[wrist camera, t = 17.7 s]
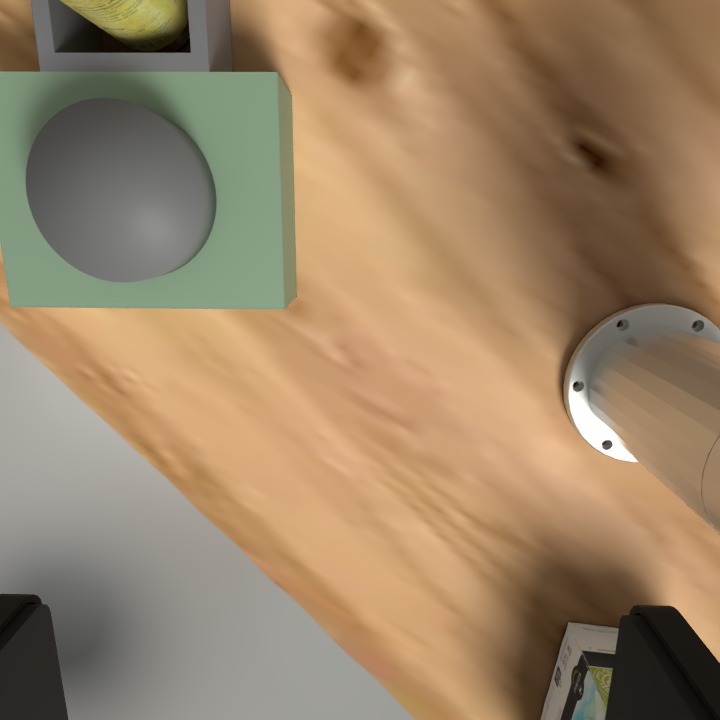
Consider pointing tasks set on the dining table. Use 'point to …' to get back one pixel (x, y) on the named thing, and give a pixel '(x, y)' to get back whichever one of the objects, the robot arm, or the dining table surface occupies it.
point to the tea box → (582, 674)
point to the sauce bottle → (139, 22)
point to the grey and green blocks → (145, 173)
